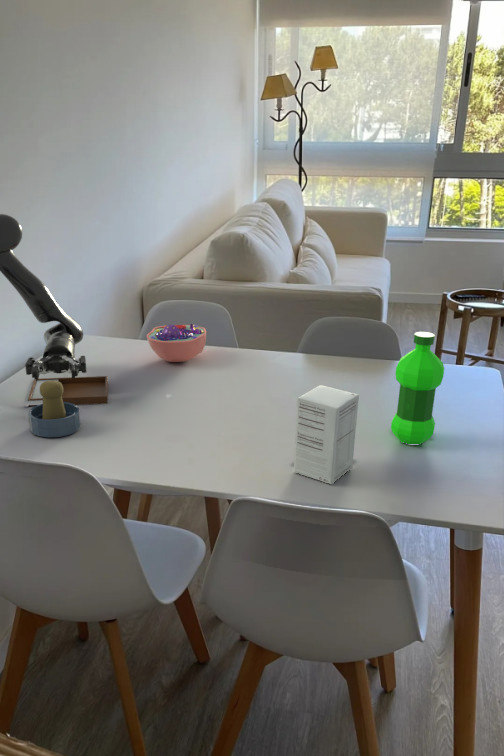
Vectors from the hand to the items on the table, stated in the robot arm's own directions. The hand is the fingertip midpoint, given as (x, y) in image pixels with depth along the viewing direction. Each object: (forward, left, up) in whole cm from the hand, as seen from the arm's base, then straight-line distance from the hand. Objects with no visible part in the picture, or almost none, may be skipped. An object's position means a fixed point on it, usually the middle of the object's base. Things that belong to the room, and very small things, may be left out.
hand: (54, 375), depth 167 cm
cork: (0, -9, -10) cm, 13 cm away
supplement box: (+56, -38, -10) cm, 68 cm away
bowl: (0, -9, -10) cm, 13 cm away
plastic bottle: (+80, -26, -10) cm, 85 cm away
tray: (+2, +13, -10) cm, 17 cm away
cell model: (+32, +39, -10) cm, 52 cm away
